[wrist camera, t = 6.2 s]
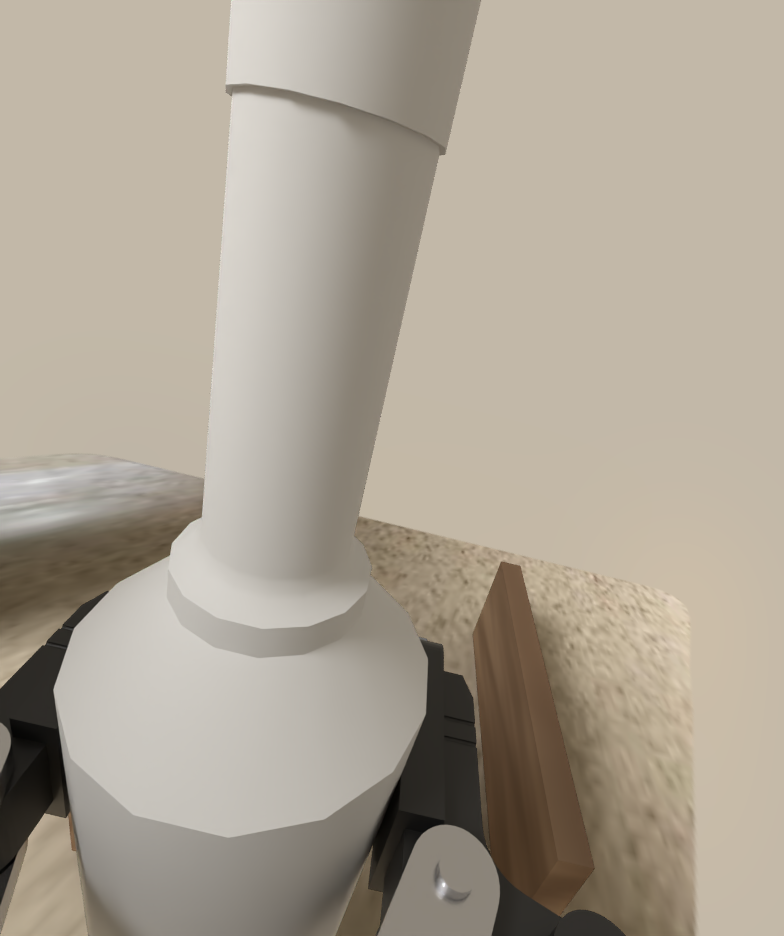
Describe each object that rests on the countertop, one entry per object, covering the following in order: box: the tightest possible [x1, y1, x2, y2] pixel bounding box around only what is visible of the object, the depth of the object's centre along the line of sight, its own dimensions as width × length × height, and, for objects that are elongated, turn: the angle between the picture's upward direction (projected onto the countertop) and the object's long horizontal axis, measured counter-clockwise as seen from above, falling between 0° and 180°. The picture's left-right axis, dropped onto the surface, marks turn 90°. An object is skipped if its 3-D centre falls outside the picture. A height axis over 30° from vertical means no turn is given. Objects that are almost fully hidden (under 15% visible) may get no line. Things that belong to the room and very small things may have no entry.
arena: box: [68, 562, 595, 916], centre depth 24 cm, size 17×16×6 cm
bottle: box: [53, 0, 481, 936], centre depth 9 cm, size 5×5×25 cm
